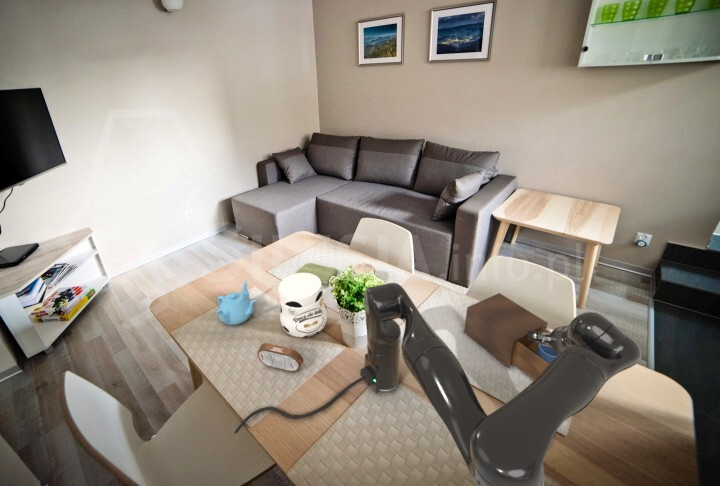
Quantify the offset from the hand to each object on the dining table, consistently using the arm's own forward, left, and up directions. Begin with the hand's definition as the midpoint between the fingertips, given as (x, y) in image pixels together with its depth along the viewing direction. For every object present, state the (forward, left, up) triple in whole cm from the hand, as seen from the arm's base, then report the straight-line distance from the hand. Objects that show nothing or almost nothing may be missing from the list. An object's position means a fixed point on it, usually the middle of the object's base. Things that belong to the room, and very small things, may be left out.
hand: (554, 343), depth 89 cm
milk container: (-53, +54, -13) cm, 77 cm away
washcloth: (-37, +80, -13) cm, 89 cm away
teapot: (-74, +71, -13) cm, 103 cm away
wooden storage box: (+1, +15, -13) cm, 20 cm away
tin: (-67, +40, -13) cm, 79 cm away
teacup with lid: (-21, +63, -13) cm, 68 cm away
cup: (+1, +1, -11) cm, 11 cm away
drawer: (+1, -1, -12) cm, 12 cm away
